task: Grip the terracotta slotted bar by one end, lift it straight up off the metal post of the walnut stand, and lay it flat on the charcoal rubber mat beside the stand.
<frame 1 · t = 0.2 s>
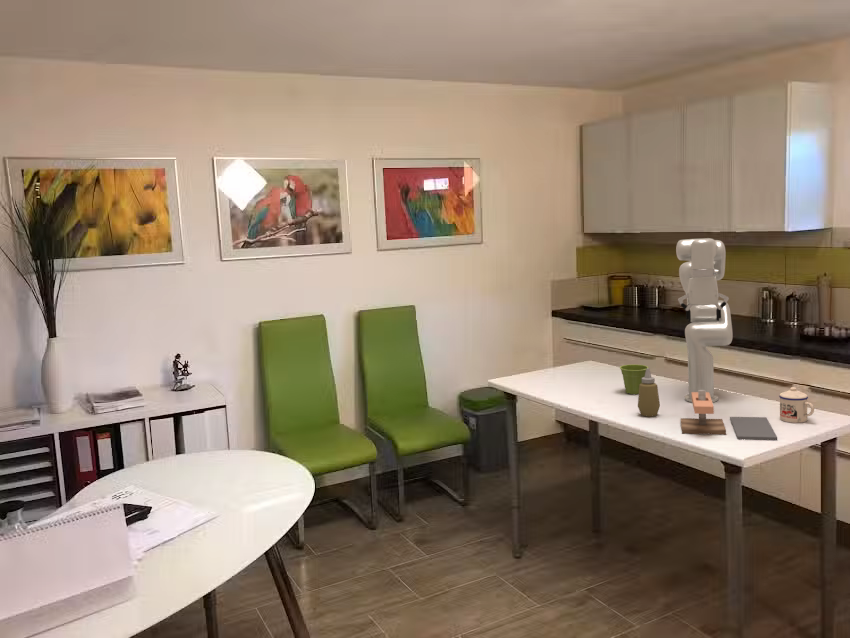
hand: (703, 320, 258), 36 cm above the table, tool pointing down, fingers open, 9 cm apart
teacup with lid: (797, 421, 251), on the table
mat: (752, 429, 244), on the table
stand: (702, 428, 249), on the table
plant pot: (634, 393, 305), on the table
link: (702, 406, 248), point 8 cm above the table, touching stand
squeeze bottle: (649, 415, 270), on the table
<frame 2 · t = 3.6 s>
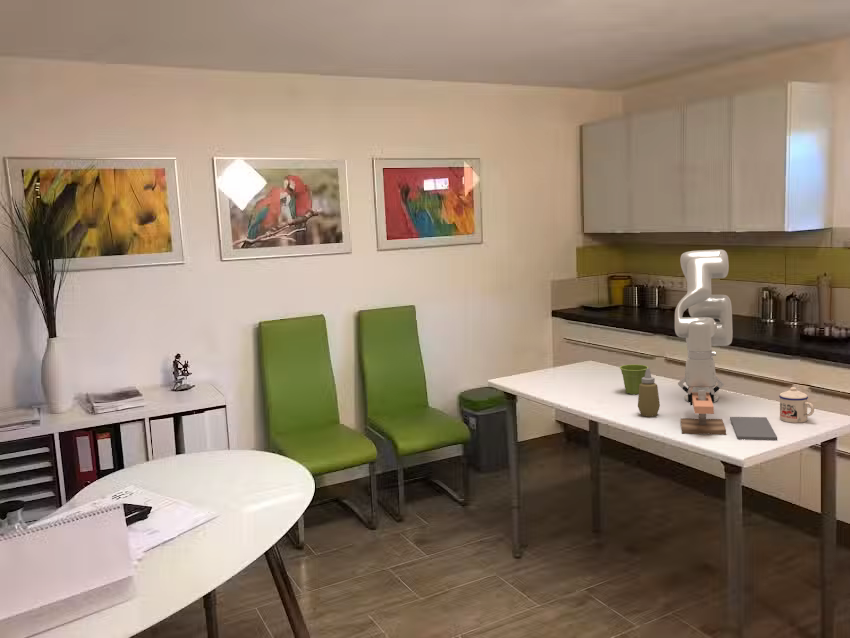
hand: (700, 404, 255), 7 cm above the table, tool pointing down, fingers closed on link, 5 cm apart
link: (702, 406, 248), point 8 cm above the table, touching gripper, stand
everything else where it was.
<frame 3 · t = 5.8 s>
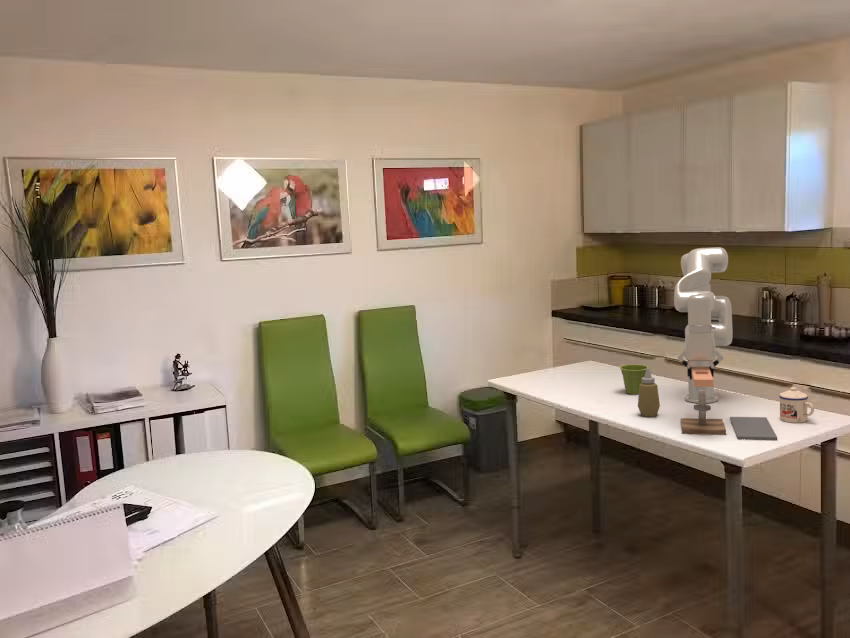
hand: (700, 378, 254), 16 cm above the table, tool pointing down, fingers closed on link, 5 cm apart
link: (701, 379, 247), point 17 cm above the table, touching gripper
everything else where it was.
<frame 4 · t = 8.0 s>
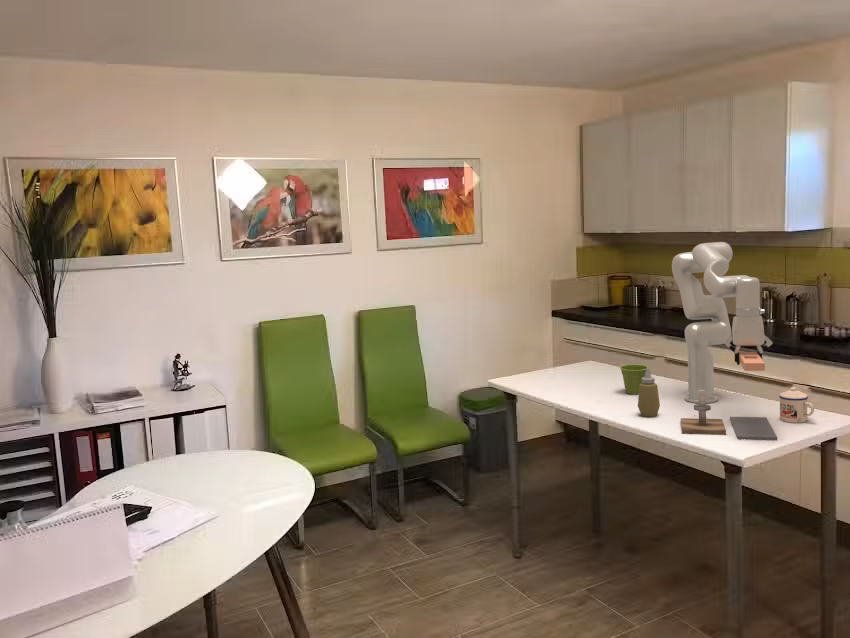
hand: (748, 363, 248), 22 cm above the table, tool pointing down, fingers closed on link, 5 cm apart
link: (750, 364, 241), point 23 cm above the table, touching gripper
everything else where it was.
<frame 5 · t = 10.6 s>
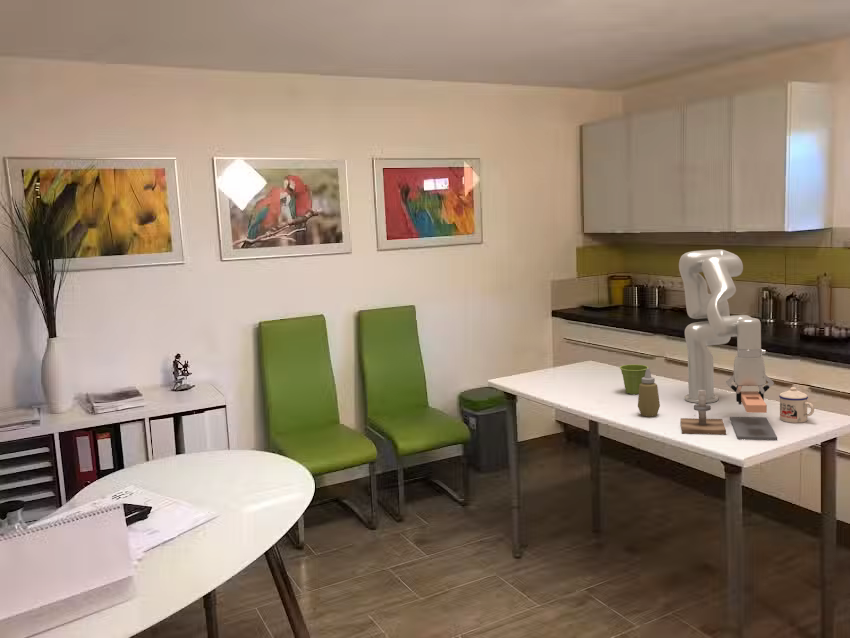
hand: (750, 403, 250), 7 cm above the table, tool pointing down, fingers closed on link, 5 cm apart
link: (752, 405, 243), point 9 cm above the table, touching gripper
everything else where it was.
when the fingers open (2 cm above the table, at t = 12.7 s): link drops 2 cm, resting on mat.
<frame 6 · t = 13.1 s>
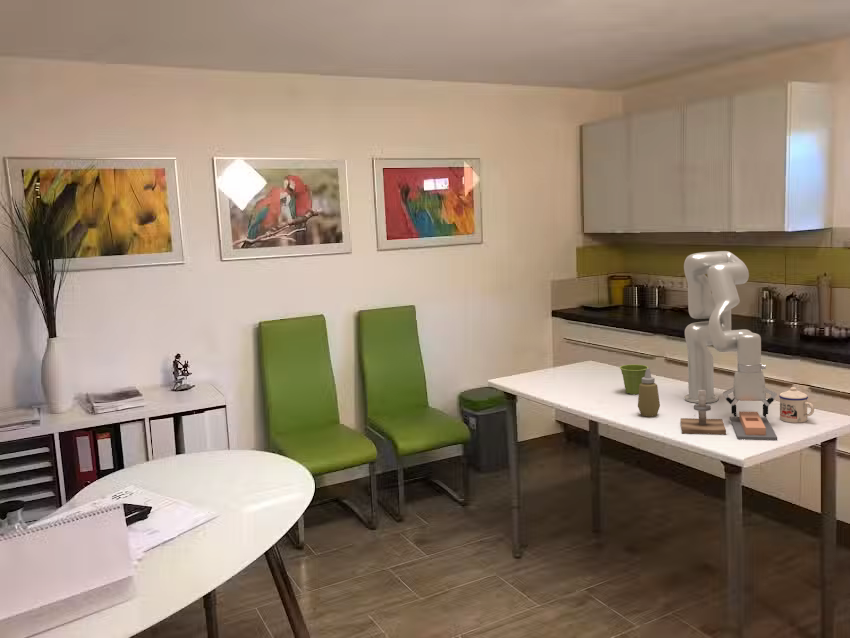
hand: (749, 415, 250), 3 cm above the table, tool pointing down, fingers open, 9 cm apart
link: (751, 426, 244), point 1 cm above the table, touching mat
everything else where it was.
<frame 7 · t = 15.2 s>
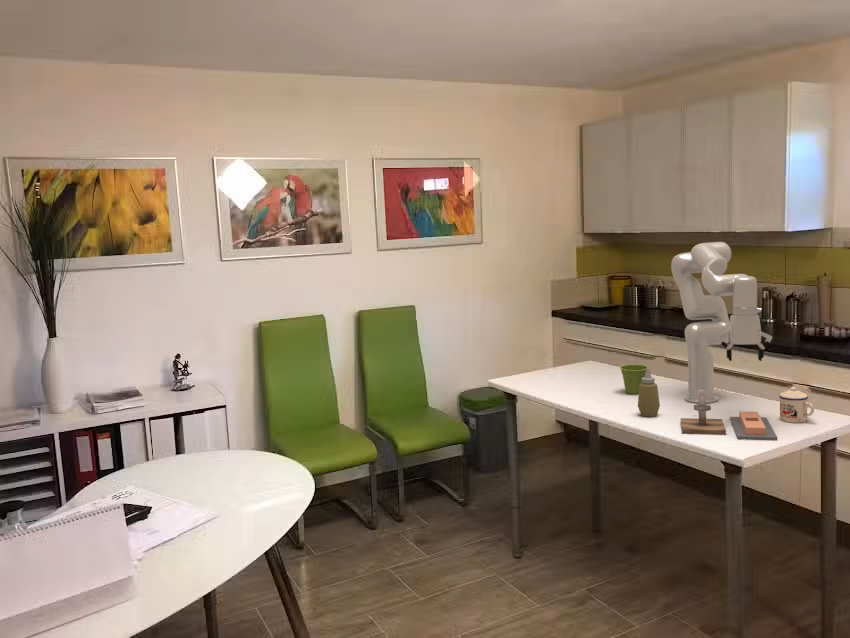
hand: (744, 360, 249), 23 cm above the table, tool pointing down, fingers open, 9 cm apart
nothing on the table moved.
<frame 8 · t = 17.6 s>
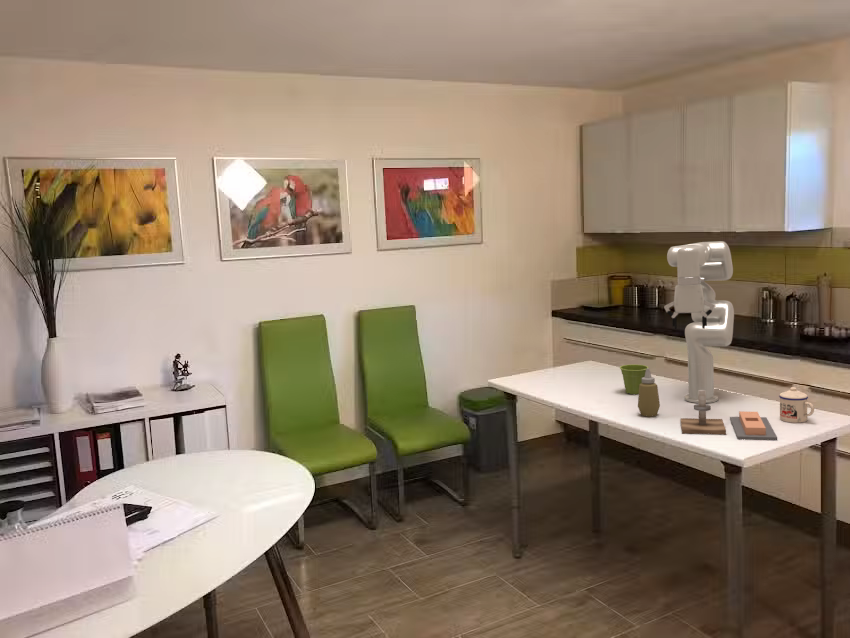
hand: (689, 328, 260), 33 cm above the table, tool pointing down, fingers open, 9 cm apart
nothing on the table moved.
at the end: link inside the target area on the mat (0.1 cm from its centre), point 1.0 cm above the mat's base; link tilted 0°; the gripper is holding nothing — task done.
